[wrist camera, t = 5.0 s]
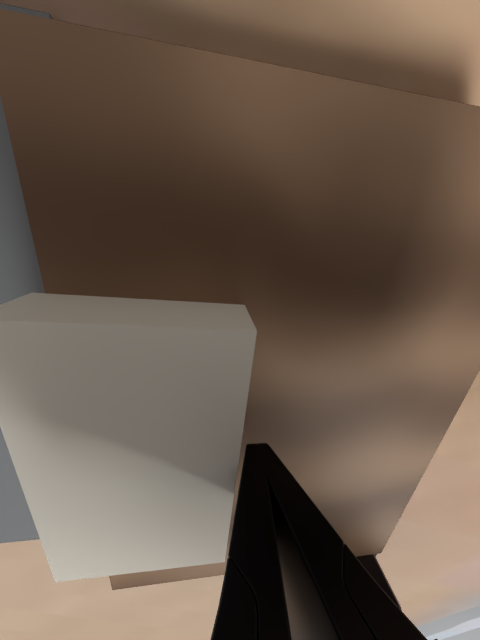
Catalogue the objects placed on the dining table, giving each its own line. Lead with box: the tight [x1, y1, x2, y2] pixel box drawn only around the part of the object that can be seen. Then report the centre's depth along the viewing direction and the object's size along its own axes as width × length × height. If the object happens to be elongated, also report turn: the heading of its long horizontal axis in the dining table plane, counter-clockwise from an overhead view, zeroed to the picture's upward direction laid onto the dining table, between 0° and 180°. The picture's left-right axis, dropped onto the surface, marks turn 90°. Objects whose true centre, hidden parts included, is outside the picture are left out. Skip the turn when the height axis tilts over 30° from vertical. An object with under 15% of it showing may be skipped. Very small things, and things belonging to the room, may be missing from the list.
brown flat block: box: [0, 9, 480, 590], centre depth 11 cm, size 22×16×4 cm
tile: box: [0, 293, 257, 582], centre depth 8 cm, size 10×6×2 cm, turn 174°
